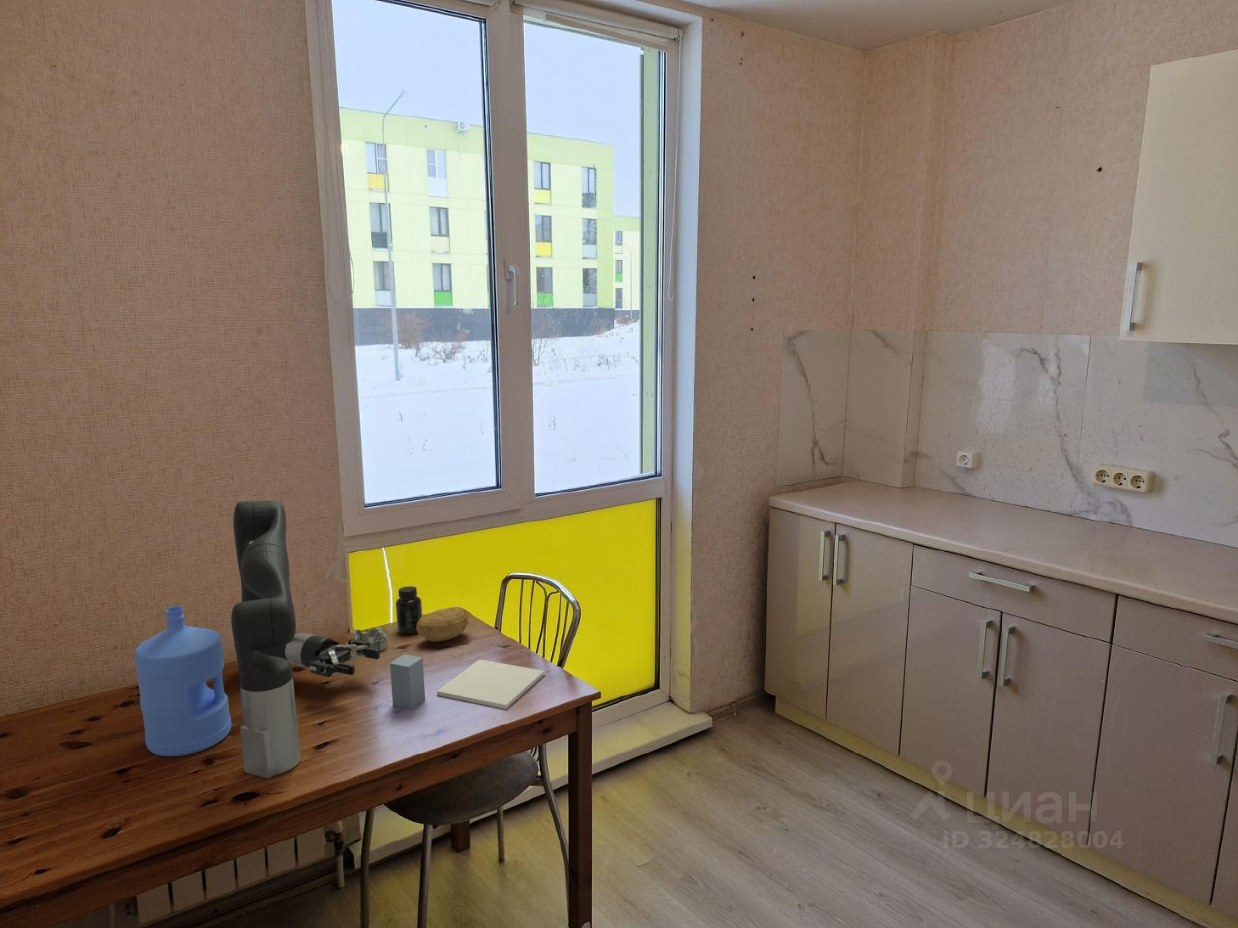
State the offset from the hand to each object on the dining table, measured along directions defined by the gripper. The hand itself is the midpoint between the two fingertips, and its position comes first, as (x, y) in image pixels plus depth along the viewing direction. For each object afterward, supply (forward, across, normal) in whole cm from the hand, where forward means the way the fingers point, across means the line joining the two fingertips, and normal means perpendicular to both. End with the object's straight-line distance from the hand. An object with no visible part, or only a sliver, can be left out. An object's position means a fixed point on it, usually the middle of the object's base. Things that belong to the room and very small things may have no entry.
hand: (366, 662), depth 182 cm
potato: (-2, +32, +8) cm, 33 cm away
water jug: (-22, -29, +8) cm, 37 cm away
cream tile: (+24, +14, +7) cm, 29 cm away
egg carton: (-18, +22, +8) cm, 29 cm away
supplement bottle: (-14, +34, +8) cm, 37 cm away
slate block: (+11, 0, +8) cm, 14 cm away
